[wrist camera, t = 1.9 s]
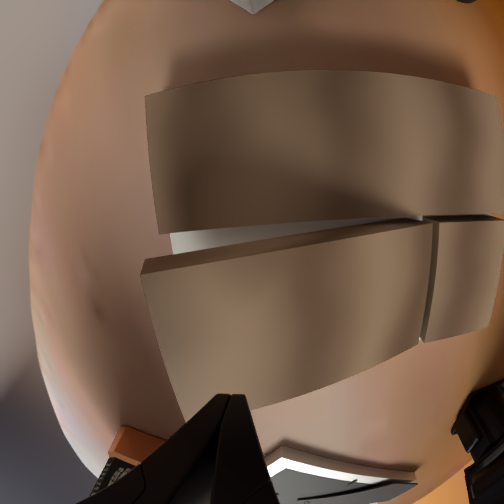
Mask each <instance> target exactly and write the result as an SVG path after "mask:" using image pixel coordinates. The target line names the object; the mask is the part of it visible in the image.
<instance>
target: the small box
mask: <svg viewBox="0 0 504 504" xmlns="http://www.w3.org/2000/svg"><path fill="white" fill-rule="evenodd" d="M230 1H231V2H233V3H235V4H236V5H238V6H240V7H241V8H243V9H245V10H246V11H248V12H249V13H251V14H255V13H257V12H258V11H259V10H261V9H262V8H264V7H265V6H267V5H268V4H270V3H271V2H273V1H274V0H230Z"/></svg>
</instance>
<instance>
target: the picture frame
mask: <svg viewBox="0 0 504 504" xmlns="http://www.w3.org/2000/svg"><path fill="white" fill-rule="evenodd" d="M264 459H265V462H266V465H267V468H268V471H269V474H270V477H271V481H272V483H273V486H274V489H275V492H276V494H277V497H278V500H279V502H280V504H376V503H378V502H383V501H389V500H391V499H392V498H394V497H396V496H398V495H400V494H402V493H404V492H406V491H407V490H409V489H411V488H413V487H414V486H416V485H418V483H413V482H415V481H416V476H415V473H414V472H405V471H395V470H387V469H380V468H374V467H367V466H362V465H356V464H351V463H346V462H342V461H337V460H333V459H329V458H325V457H321V456H317V455H313V454H309V453H306V452H302V451H299V450H296V449H292V448H289V447H286V446H283V445H282V446H280V447H279V448H278V449H276V450H275V451H274V452H272V453H271V454H269V455H268V456H267V457H265V458H264Z"/></svg>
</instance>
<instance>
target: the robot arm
mask: <svg viewBox="0 0 504 504" xmlns="http://www.w3.org/2000/svg"><path fill="white" fill-rule="evenodd" d="M451 434H452V435H455V434H458V436H459V438H460V440H461V442H462V444H463V446H464V448H465V450H466V452H467V453H469V452H470V453H471V455H472V458H473V460H474V463H473V464H472V465H471V466H469V467H467V468H466V469H465V470H464V472H465V480H466V486H467V491H468V497H469V504H504V380H501V381H499V382H497V383H495V384H493V385H490V386H488V387H485V388H483V389H481V390H478V391H476V392H473V393H472V394H471V395H470V396H469V397H468V400H467V402H466V404H465V406H464V408H463V410H462V412H461V414H460V416H459V417H458V419H457V421H456V423H455V425H454V427H453V428H452V430H451ZM76 504H280V502H279V500H278V497H277V494H276V492H275V489H274V486H273V483H272V481H271V477H270V474H269V471H268V468H267V465H266V462H265V459H264V455H263V452H262V449H261V446H260V443H259V439H258V436H257V433H256V429H255V426H254V423H253V419H252V416H251V412H250V409H249V405H248V402H247V398H246V395H245V394H232V395H231V394H226V393H218V394H216V395H215V396H214V397H213V398H212V399H211V400H210V401H208V402H207V403H206V404H205V405H204V406H203V407H202V408H201V409H200V410H199V411H198V412H197V413H196V414H195V415H194V416H193V417H192V418H191V419H190V420H188V421H187V422H186V423H185V424H184V425H183V426H182V427H181V428H180V429H179V430H178V431H176V432H175V433H174V434H173V435H172V436H171V437H170V438H169V439H167V440H166V441H165V442H164V443H163V444H162V445H161V446H159V447H158V448H157V449H156V450H155V451H154V452H152V453H151V454H150V455H149V456H148V457H147V458H145V459H144V460H143V461H142V462H141V464H138V465H137V466H135V467H134V468H133V469H132V470H131V471H129V472H128V473H127V474H125V475H124V476H122V477H121V478H120V479H118V480H117V481H115V482H114V483H112V484H111V485H109V486H107V487H106V488H104V489H102V490H101V491H99V492H97V493H95V494H93V495H92V496H90V497H88V498H86V499H84V500H82V501H80V502H78V503H76Z"/></svg>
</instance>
